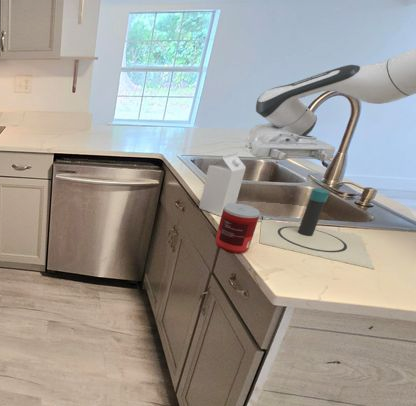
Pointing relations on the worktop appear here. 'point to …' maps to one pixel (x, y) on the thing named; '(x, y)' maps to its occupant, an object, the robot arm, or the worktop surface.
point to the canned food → (236, 227)
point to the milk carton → (222, 183)
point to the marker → (313, 211)
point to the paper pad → (316, 242)
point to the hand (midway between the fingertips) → (304, 157)
